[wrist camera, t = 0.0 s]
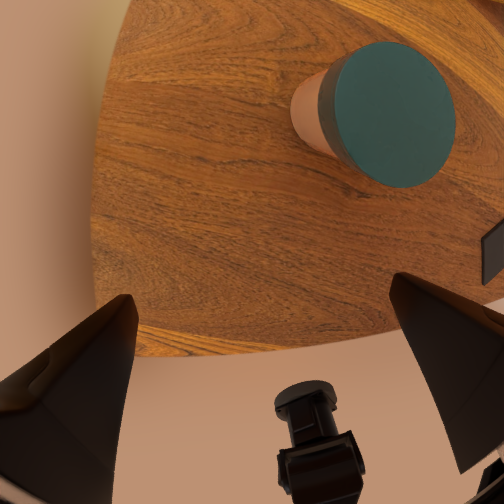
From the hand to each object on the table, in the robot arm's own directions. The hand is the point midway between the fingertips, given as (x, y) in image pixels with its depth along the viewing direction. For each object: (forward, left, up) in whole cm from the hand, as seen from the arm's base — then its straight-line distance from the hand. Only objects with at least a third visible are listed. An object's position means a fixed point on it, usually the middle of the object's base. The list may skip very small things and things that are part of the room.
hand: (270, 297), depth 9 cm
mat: (-22, -26, -13) cm, 36 cm away
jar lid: (+2, -9, -4) cm, 10 cm away
